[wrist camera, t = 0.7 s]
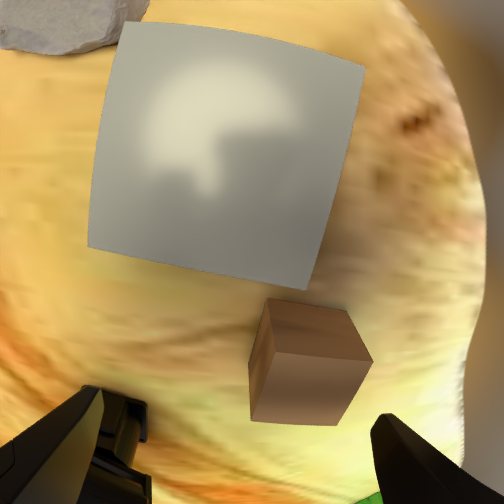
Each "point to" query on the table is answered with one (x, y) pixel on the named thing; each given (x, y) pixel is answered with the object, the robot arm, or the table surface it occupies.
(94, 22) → the stone block
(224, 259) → the tile
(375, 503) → the fruit basket
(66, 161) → the table surface
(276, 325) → the cube
